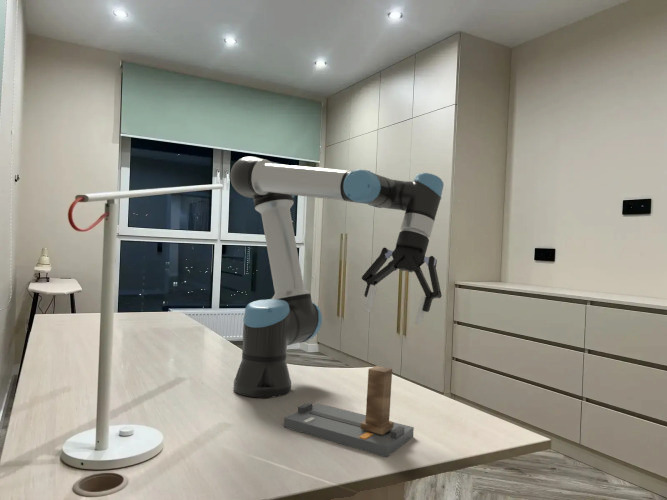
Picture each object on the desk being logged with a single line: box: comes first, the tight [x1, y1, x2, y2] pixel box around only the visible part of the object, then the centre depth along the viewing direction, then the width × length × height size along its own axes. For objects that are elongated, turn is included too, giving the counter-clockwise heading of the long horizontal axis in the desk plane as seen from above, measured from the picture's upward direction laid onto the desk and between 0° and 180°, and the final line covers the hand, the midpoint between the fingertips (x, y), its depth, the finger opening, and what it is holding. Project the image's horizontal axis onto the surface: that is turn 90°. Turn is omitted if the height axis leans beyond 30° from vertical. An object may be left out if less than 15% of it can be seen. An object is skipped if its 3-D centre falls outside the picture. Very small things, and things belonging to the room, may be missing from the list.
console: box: [283, 402, 415, 458], centre depth 107 cm, size 24×13×3 cm, turn 59°
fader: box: [360, 365, 394, 435], centre depth 103 cm, size 5×5×12 cm
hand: (391, 317), depth 121 cm, fingers open, 13 cm apart
